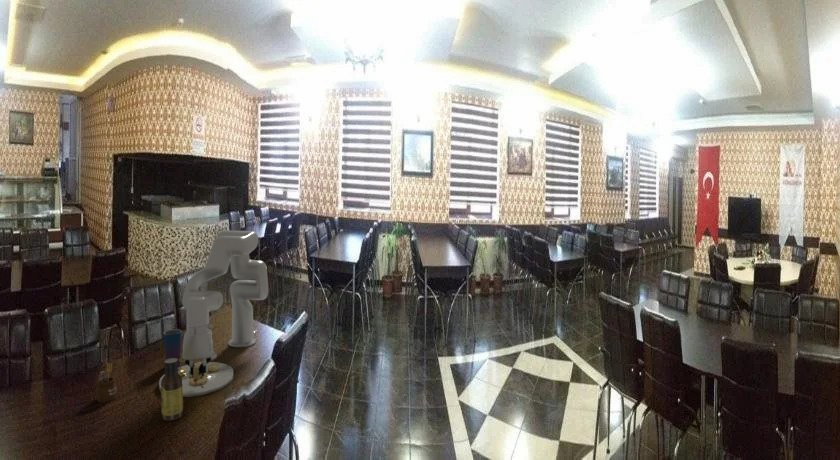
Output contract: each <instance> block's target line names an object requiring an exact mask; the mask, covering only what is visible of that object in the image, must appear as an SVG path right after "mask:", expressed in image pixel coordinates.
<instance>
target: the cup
mask: <svg viewBox="0 0 840 460" xmlns="http://www.w3.org/2000/svg"><path fill="white" fill-rule="evenodd" d="M182 333H183V330H181V329H178V328H177V329H175V328H174V329H168V330H165V331H164V332H163V333H162V334H163V343H164V345H163V347H164V357H165V360H167V359H170V358H176V359H178V367H181V362H180V361H179V359H180V357H181V355H182V352H181V350H182Z"/></svg>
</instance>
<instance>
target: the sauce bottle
mask: <svg viewBox="0 0 840 460" xmlns="http://www.w3.org/2000/svg"><path fill="white" fill-rule="evenodd" d="M163 366H164V374H165V376H164V377H163V379H162V381H161V391H160V401H161V404H160V406H161V414H162V417H161V418H162V420H164V421H167V422H172V421H176V420H179V419H180V418H181V417H182V416H183V414H184V413H183V411H184V397H183V385H182V377H181V376H180V375H179V373H178V359H176V358H170V359H167V360H166V359H165V360H164V361H163ZM178 418H179V419H178ZM171 420H172V421H171Z"/></svg>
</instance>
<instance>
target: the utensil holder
mask: <svg viewBox="0 0 840 460" xmlns="http://www.w3.org/2000/svg"><path fill="white" fill-rule="evenodd" d="M112 367H113V362H107V363H106V371H103V370H102V371H100V373H99V374H101V375H100V376H101V377H100V376H98V377H99V379H98V380H97V383H96V385H97V386H96V387H95V398H96V401H97V403H98V402H99V403H107V402H106V401H108V402H112V401H114V400H115V399H116V398H117V384H116V379H115V377H114V376H110V373H111V372H112V371H113V370H112ZM102 373H103V374H102ZM105 373H106V374H107V376H106V375H105ZM102 375H104V377H103V376H102Z"/></svg>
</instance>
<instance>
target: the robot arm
mask: <svg viewBox="0 0 840 460" xmlns="http://www.w3.org/2000/svg"><path fill="white" fill-rule="evenodd" d="M258 244H259V236H258V233H256V231H252V230H251V231H249V230H226V229H225V230H221V231H219V232H218V234H217V236H216V238H214V240H213V243H212V245H211V249H210V251H209V255H208V258H207V261H206V264H205V266H204V267H203V268H201V269H199V270H198V271H197V272H195V274H193V276H191V278H190V279H189V280H188V281H187V283H186V285H185V288H184V292H183V294H182V295H183V296H182V300H181V302H182V304H181V305H182V306H183V308H185V310H186V330H185V332H184V335H183V341H182V352H181V354H180V359H179V361H180V363H183V364H185V365H188V366H189V367H190V375H192V378H193V367H194V366H195V365H194V364H195V363H194V360H198V359H202V362H203V363H202V376H204V373H206V365H207V364H208V363H209V362H211V361H212V360H214V359H216V358H217V357H218V356H217V353H216V352H215V349H214V339H213V333H212V329H213V328H214V324H213V323H210V312H214V311H216V310H219V309H220V308H221V307H222V305H223V302H224V295H223V293H221V292H220V291H216V290H198V289H199V288H200V287H201V285H203V284H205V283H206V282H208V281H210V280H213V279H216V278H218V277H221V276H224V275H225V274H226V273H228V271H229V270H228V269H229V267H230V271H231V272H230V273H231V276H232V277H233V278H234V279H236V280H235V281H233V282H232V283H231V284H230V287H229V293H230V294H229V295H230V299H231V339H230V340H229V341H228V345H229V346H230V347H233V348H247V347H250V346H253V345H254V344H256V343H257V339H256V338H255V336H256V335H258V333H259V331H258V330H257V329H255V330H254V306H253V305H252V303H251V301H263V300H266V299H267V298H268V296H269V295H268V294H269V281H268V279H269V278H268V269H267V265H266V263H265V262H264V261H263V260H258V259H257V260H256V259H251V258H250V254H251V253H252V252H253V251H255V249H256V248H257V247H258Z"/></svg>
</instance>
